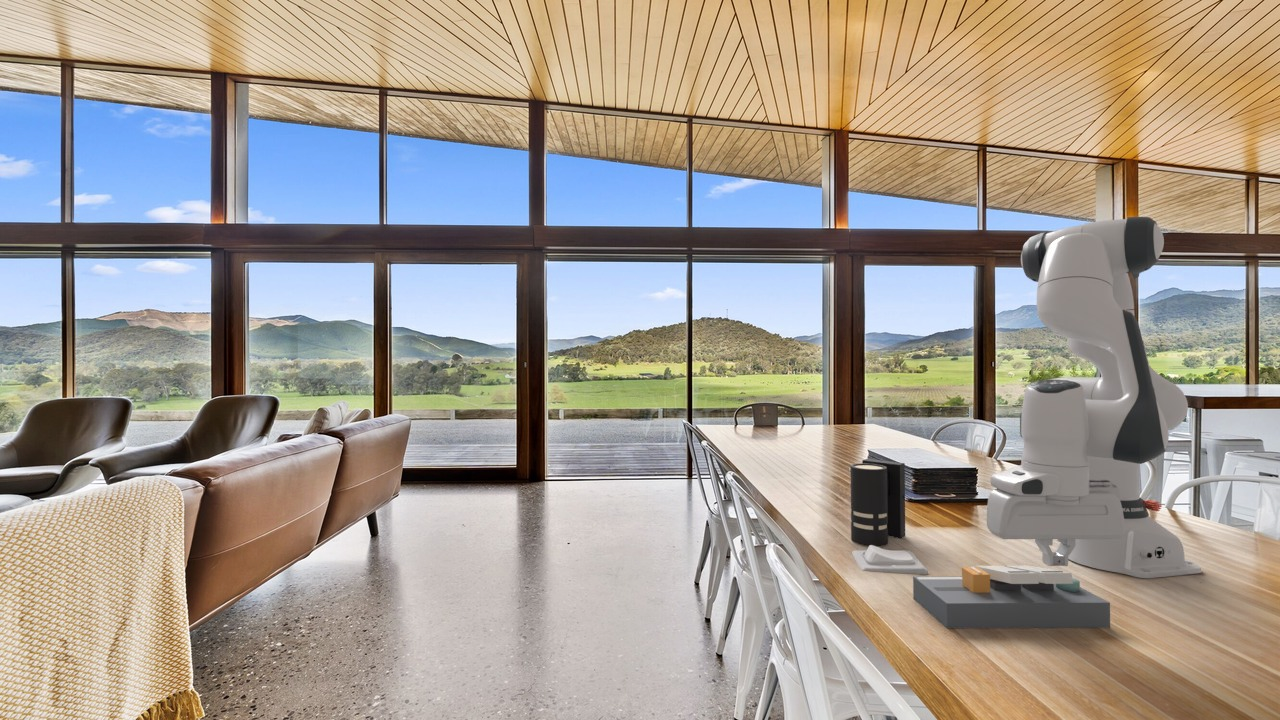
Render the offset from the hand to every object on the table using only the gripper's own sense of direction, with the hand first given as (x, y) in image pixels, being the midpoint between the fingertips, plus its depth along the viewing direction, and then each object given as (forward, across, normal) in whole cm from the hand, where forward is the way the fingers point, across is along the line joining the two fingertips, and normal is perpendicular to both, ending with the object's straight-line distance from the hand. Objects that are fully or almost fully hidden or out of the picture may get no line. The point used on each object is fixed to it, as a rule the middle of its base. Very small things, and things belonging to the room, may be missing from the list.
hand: (1055, 564), depth 89 cm
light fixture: (+10, +11, -43) cm, 46 cm away
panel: (+10, +5, -4) cm, 12 cm away
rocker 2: (+4, 0, -4) cm, 6 cm away
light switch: (+10, +15, -27) cm, 33 cm away
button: (+5, -5, -4) cm, 8 cm away
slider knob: (+6, +10, -4) cm, 13 cm away
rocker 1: (+4, +5, -4) cm, 8 cm away
